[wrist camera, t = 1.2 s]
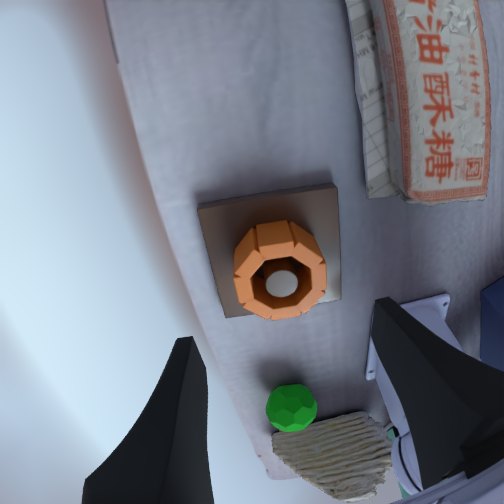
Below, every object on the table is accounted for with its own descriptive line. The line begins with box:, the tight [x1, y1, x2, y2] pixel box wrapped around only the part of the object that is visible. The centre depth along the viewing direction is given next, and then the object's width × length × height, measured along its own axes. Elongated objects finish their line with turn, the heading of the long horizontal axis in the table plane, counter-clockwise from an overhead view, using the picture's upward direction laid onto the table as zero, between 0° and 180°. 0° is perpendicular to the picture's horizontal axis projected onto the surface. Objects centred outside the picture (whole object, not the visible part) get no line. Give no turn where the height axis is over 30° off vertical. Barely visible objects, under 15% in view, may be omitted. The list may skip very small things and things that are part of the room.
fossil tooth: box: [271, 411, 393, 503], centre depth 30 cm, size 12×6×15 cm
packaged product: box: [345, 0, 491, 206], centre depth 14 cm, size 18×5×10 cm
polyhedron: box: [266, 384, 318, 432], centre depth 29 cm, size 5×5×5 cm
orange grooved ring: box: [233, 220, 327, 320], centre depth 21 cm, size 6×6×3 cm
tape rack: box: [197, 183, 341, 318], centre depth 21 cm, size 9×9×4 cm
